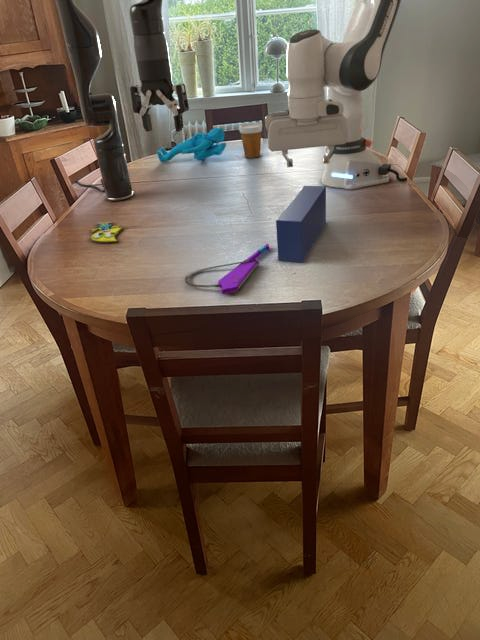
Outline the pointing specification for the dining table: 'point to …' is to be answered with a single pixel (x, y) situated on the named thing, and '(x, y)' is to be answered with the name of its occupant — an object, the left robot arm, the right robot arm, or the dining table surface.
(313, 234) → the box
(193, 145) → the toy
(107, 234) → the toy
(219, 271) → the dining table surface
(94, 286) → the dining table surface
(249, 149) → the glass of beer
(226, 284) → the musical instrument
